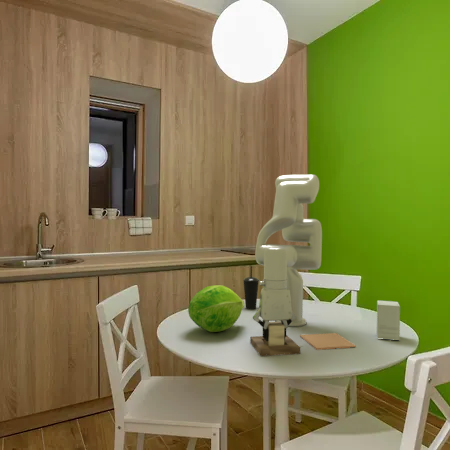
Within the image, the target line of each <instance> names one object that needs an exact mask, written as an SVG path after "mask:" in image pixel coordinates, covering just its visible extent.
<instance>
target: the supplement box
mask: <svg viewBox="0 0 450 450" xmlns="http://www.w3.org/2000/svg"><path fill="white" fill-rule="evenodd" d="M400 315H401V306H400V304H399V302H398V301H392V300H377V301H376V336H377V337H376V338H377V339H378V338H383V339H394V340H399V341H400V338H401V337H400V336H401V335H400V330H401V329H400V325H401V319H400V318H401V316H400Z"/></svg>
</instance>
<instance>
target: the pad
mask: <svg viewBox="0 0 450 450" xmlns="http://www.w3.org/2000/svg"><path fill="white" fill-rule="evenodd" d="M299 337H300V338H301V339H303V340H304V341H305V342H306V343H308V344H309V345H310V347H312V348H313V349H315V350H316V351H318V350H321V349H322V350H335V348H339V349H350V347H356V348H357V345H355V344H354V343H353V342H351V341H349V340H347V339H346V338H345V337H343V336H342V335H340V334H338V332H333V333H332V332H330V333H328V332H327V333H314V334H313V333H312V334H300V335H299Z"/></svg>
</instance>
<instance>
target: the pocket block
mask: <svg viewBox="0 0 450 450" xmlns="http://www.w3.org/2000/svg"><path fill="white" fill-rule="evenodd" d="M249 342H250V344H251V345H252V346H253V348H254V349H255V350H256V352H257V353H258V355H259V356H260V357H267V356H268V357H269V356H271V357H272V356H283V355H285V356H286V355H300V354H301V347H300V345H298V343H296V341H295V340H293V339H291V338H290V337H289V335H288V334H286V337H285V340H284V345H276V346H267V345H266V344H265V339H264V338H263V335H261V336H260V335H259V336H256V335H255V336H250V339H249Z"/></svg>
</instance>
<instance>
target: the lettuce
mask: <svg viewBox="0 0 450 450" xmlns="http://www.w3.org/2000/svg"><path fill="white" fill-rule="evenodd" d="M244 307H246V305H245V300H243V299H242V298H241V297H240V296H239V295H238V294H237V293H236V292H235V291H234V290H233V289H231V288H229V287H227V286H225V285H222V284H221V285H220V284H219V285H218V284H217V285H215V284H214V285H209V286H206V287H204V288H202V289H201V290H199V291H197V292H196V293H195V295H194V296H192V298H191V300H190V302H189V304H188V310H187V313H188V315H189V318H190V319H191V321H192V322H193V323H194V324H195V325H197V326H198V327H199V328H202V329H203V330H205V331H208V332H210V333H217V332H223V331H226V330H228V329H230V328H232V327H233V326H234V325H235V323H236V322H237V321H238V319H239V318H240V316H241V314H242V310H243V309H244Z"/></svg>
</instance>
